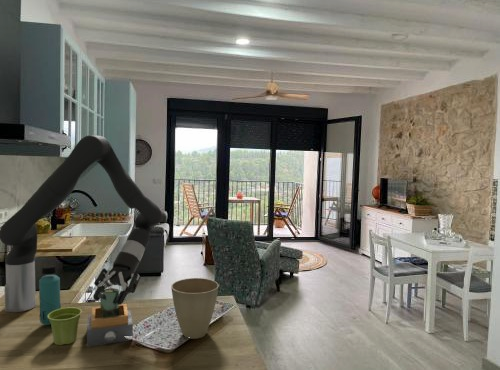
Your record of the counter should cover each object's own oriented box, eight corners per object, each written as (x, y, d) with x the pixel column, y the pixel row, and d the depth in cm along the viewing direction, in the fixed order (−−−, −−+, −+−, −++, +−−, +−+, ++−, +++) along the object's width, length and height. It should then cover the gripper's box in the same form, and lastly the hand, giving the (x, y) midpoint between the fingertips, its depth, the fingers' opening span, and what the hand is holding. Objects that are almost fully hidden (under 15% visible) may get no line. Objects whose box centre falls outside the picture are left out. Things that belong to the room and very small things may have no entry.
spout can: (108, 314, 125) (108, 284, 124) (122, 317, 123) (122, 286, 123) (91, 324, 118) (91, 292, 117) (106, 326, 116) (106, 294, 115)
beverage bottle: (65, 321, 131) (64, 263, 130) (53, 329, 125) (52, 269, 123) (47, 320, 132) (46, 263, 131) (34, 328, 125) (33, 268, 124)
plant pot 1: (89, 336, 120) (88, 309, 120) (65, 350, 111) (64, 321, 111) (65, 332, 123) (65, 305, 123) (40, 345, 114) (40, 316, 114)
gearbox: (86, 349, 112) (86, 324, 112) (88, 329, 125) (88, 307, 125) (133, 342, 117) (132, 318, 116) (130, 324, 130) (130, 302, 129)
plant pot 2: (177, 348, 113) (177, 295, 112) (166, 328, 127) (166, 280, 126) (225, 339, 119) (225, 289, 118) (209, 321, 133) (210, 275, 132)
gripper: (106, 249, 129) (82, 293, 119) (142, 252, 125) (120, 299, 115) (117, 260, 135) (94, 304, 125) (152, 264, 130) (131, 310, 120)
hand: (106, 301), depth 120 cm, fingers open, 8 cm apart
